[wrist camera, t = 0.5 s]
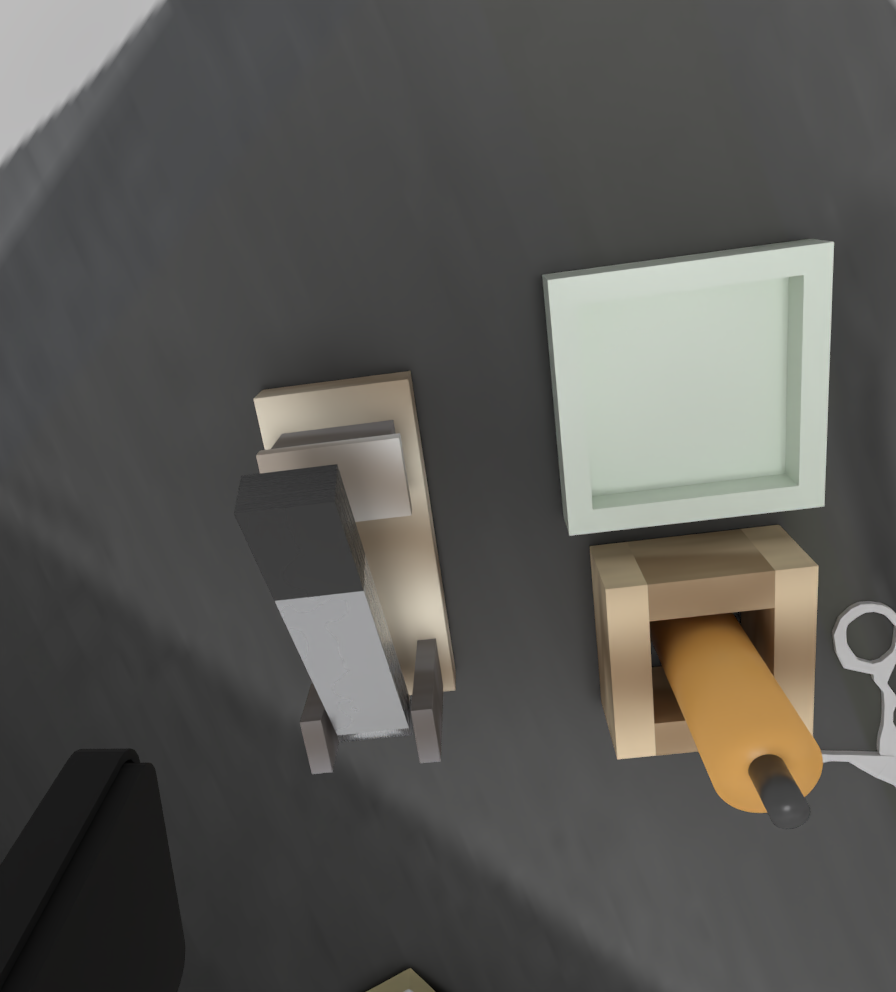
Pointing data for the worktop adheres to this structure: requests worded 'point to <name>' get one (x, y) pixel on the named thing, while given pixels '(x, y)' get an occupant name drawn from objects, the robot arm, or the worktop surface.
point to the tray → (691, 385)
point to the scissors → (892, 754)
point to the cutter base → (373, 528)
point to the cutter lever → (326, 597)
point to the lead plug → (739, 717)
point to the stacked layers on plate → (404, 983)
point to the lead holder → (697, 592)
